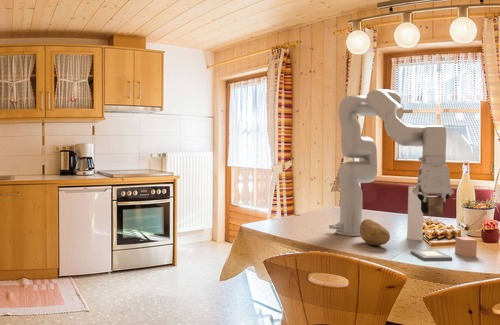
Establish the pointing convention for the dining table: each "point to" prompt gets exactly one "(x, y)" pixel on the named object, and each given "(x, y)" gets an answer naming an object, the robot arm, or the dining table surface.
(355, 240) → the dining table surface
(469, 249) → the terracotta block
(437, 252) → the slate board
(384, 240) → the potato
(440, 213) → the walnut block
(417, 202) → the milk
